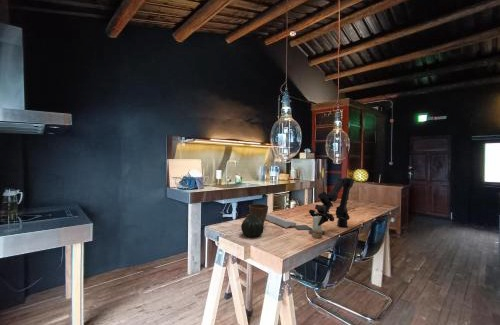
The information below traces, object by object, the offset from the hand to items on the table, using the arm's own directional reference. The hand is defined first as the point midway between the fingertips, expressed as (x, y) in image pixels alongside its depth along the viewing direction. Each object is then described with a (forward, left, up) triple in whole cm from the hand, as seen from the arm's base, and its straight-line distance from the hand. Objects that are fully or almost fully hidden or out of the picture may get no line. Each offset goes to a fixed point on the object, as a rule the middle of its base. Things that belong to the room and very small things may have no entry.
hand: (315, 224), depth 176 cm
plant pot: (+39, -19, -7) cm, 44 cm away
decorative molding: (+21, -31, -6) cm, 38 cm away
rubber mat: (+5, -15, -7) cm, 17 cm away
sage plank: (-1, -1, -7) cm, 7 cm away
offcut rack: (-1, -1, -7) cm, 7 cm away
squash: (+46, +2, -7) cm, 46 cm away
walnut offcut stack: (+2, +8, -7) cm, 10 cm away
